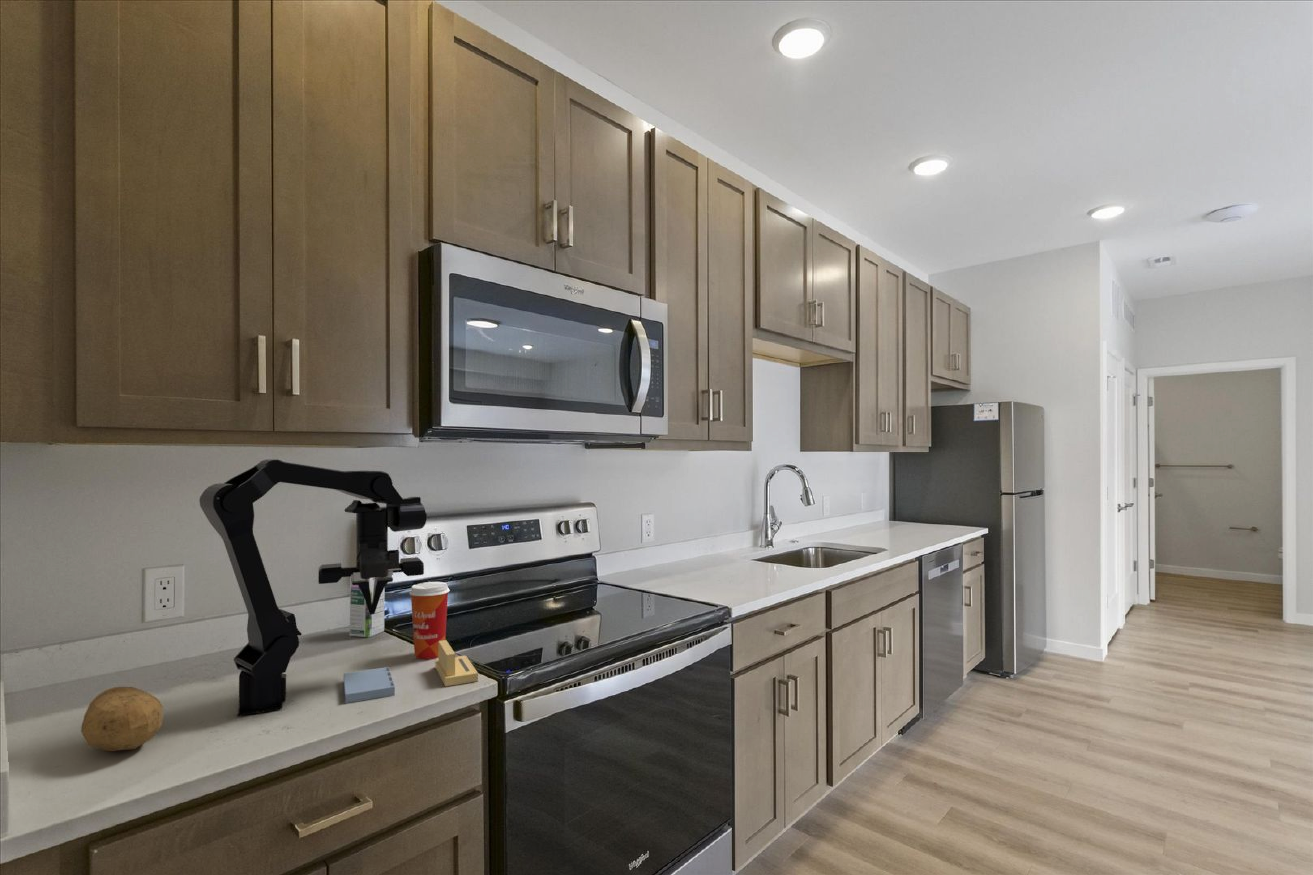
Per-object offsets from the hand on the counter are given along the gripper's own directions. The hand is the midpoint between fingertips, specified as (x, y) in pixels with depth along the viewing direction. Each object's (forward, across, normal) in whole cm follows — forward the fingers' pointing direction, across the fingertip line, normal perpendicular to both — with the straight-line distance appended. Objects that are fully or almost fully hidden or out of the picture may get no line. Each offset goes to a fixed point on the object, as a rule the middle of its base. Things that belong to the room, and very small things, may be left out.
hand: (371, 613), depth 128 cm
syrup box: (+12, +1, +32) cm, 34 cm away
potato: (+12, -35, -16) cm, 40 cm away
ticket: (+12, -1, -7) cm, 14 cm away
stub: (+12, +15, -7) cm, 20 cm away
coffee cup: (+12, +12, +8) cm, 19 cm away
